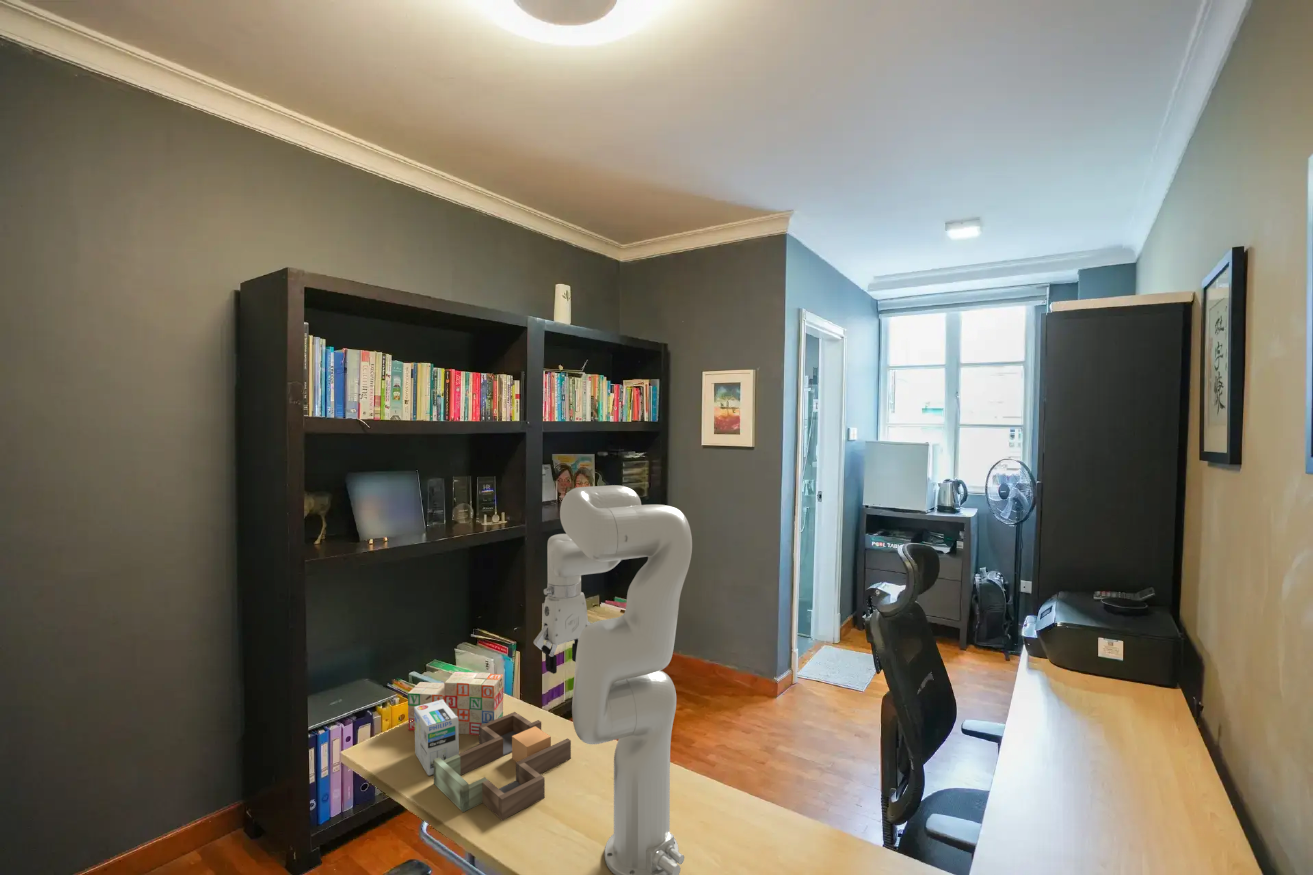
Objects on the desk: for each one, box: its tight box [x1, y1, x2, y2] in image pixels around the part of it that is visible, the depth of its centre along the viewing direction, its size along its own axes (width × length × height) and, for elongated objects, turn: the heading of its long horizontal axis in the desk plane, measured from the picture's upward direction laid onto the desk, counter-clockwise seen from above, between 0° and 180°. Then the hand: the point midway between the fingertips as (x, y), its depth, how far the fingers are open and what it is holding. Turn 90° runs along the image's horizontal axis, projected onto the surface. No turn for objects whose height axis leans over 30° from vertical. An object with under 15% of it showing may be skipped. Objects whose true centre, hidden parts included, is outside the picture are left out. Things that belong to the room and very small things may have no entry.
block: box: [511, 726, 552, 762], centre depth 131 cm, size 6×6×5 cm
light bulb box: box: [414, 699, 460, 776], centre depth 130 cm, size 11×7×11 cm, turn 37°
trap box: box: [433, 711, 572, 821], centre depth 126 cm, size 27×25×5 cm
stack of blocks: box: [407, 671, 504, 736], centre depth 144 cm, size 21×6×12 cm, turn 84°
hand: (564, 666), depth 137 cm, fingers open, 6 cm apart
